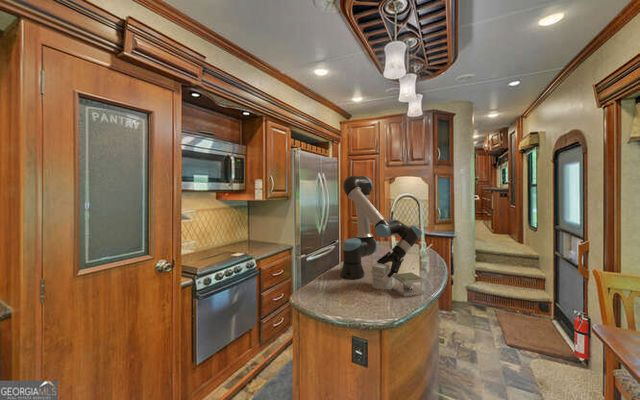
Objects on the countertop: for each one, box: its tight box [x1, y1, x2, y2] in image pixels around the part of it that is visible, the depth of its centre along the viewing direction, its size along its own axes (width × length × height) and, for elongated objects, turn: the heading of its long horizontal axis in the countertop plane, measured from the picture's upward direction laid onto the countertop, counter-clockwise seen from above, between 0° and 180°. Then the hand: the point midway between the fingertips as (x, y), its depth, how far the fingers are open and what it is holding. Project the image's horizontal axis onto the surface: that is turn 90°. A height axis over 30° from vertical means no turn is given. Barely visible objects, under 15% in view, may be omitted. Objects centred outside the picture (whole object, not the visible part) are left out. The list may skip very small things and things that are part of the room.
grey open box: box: [391, 271, 425, 298], centre depth 146 cm, size 12×12×8 cm
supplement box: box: [371, 262, 390, 291], centre depth 153 cm, size 7×7×13 cm
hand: (377, 277), depth 153 cm, fingers open, 13 cm apart
